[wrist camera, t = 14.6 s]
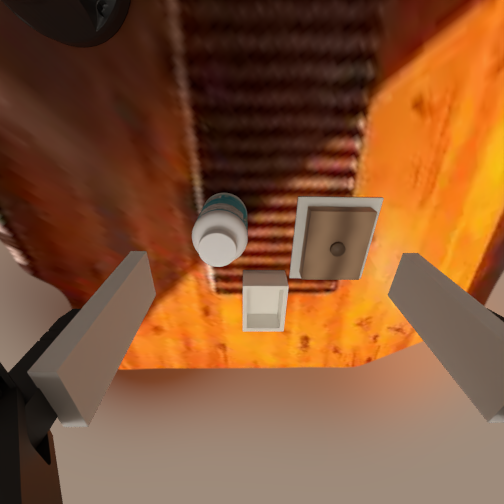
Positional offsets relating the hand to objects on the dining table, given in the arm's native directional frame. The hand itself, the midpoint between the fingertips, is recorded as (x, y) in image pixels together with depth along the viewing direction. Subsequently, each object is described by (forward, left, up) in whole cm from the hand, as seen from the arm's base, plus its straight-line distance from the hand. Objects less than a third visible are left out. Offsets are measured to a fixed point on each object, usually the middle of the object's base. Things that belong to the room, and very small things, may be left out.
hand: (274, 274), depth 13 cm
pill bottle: (-5, -7, -29) cm, 30 cm away
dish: (+2, -24, -29) cm, 37 cm away
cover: (+14, -12, -28) cm, 34 cm away
